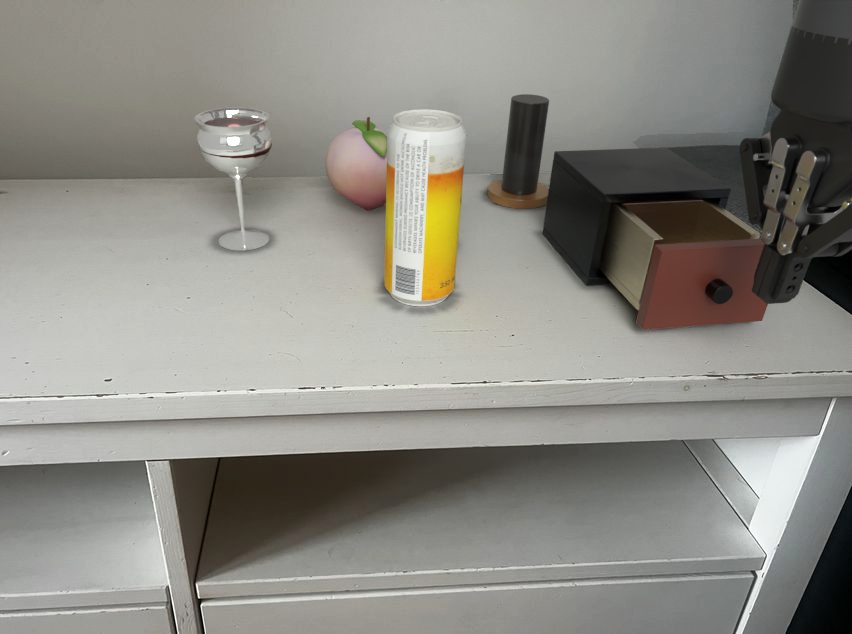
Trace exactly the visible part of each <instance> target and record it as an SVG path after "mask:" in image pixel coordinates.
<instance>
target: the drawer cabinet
mask: <svg viewBox="0 0 852 634" xmlns="http://www.w3.org/2000/svg"><path fill="white" fill-rule="evenodd" d="M548 189H549V192H548V198H547V204H545V205H546V206H545V213H544V220H543V227H542V235H543V236H544V237H545V239H546V240H547V241H548V242H549V243H550V244H551V245H552V247H553V248H554V250H556V251H557V253H558V254H559V255H560V256H561V257H562V258H563V260H564V261H565V262H566V263H567V265H568V266H569V267H570V268H571V269H572V270H573V271H574V272H575V274H576V275H577V277H578V278H579V279H581V281H582V282H583V283H584V284H585V286H587V287H589V286H591V287H592V286H605V285H614V284H613V283H612V282H611V281H610V280H609V279H608V278H607V277H606V276H605V275H604V274H603V273H602V271H601V270H600V269H599V268H598V267H599V262H600V257H601V252H602V247H603V242H604V237H605V232H606V227H607V222H608V217H609V212H610V207H611V203H619V202H640V201H662V200H683V199H705V198H709V199H711V200H712V201H714V202H715V203H716V204H718V205H719V206H721V207H722V208H724V209H725V210H727V209H726V208H727V206H728V202H729V198H730V195H731V191H732V189H731V187H729V186H727V185H725V184H724V183H723V182H721V181H720V180H718V179H716V178H714V177H713V176H712V175H710V174H708V173H707V172H705V171H703V170H702V169H701V168H699V167H698V166H696V165H694V164H692V163H691V162H689V161H688V160H686V159H685V158H683V157H682V156H680V155H678V154H677V153H675V152H673V151H672V150H670V149H669V148H667V147H640V148H639V147H638V148H637V147H636V148H617V149H616V148H613V149H612V148H611V149H585V150H584V149H582V150H580V149H579V150H556V151H554V153H553V159H552V165H551V172H550V179H549V186H548Z"/></svg>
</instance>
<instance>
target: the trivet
mask: <svg viewBox="0 0 852 634" xmlns="http://www.w3.org/2000/svg"><path fill="white" fill-rule="evenodd" d="M501 186H502V178H501V179H497V180H493V181H492V182H490V183H489V184H488V186H487V194H486V196H487V198H488V199H489V201H491V202H492V203H494V204H496V205H499V206H502V207H506V208H512V209H525V210H526V209H535V208H540V207H543V206H545V205H547V198H548V192H549V186H548V187H547V185H545V184H543V183H540V182H538V185H537V191H536V192H535V193H533V194H530V195H514V194H510V193H507V192H505V191H503V190H502V188H501Z"/></svg>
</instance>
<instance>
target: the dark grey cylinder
mask: <svg viewBox="0 0 852 634" xmlns="http://www.w3.org/2000/svg"><path fill="white" fill-rule="evenodd" d="M549 106H550V99H549V98H547V97H546V96H542V95H538V94H531V93H530V94H527V93H526V94H525V93H524V94H516V95H513V96H512V97H511V98H510V106H509V116H508V124H507V132H506V142H505V151H504V160H503V161H504V162H503V169H502V178H501V179H502V186H501V188H502V190H503V191H505V192H507V193H510V194H514V195H530V194H533V193H535V192H536V191H537V185H538V183H539V178H540V177H539V176H540V170H541V163H542V156H543V155H542V154H543V148H544V141H545V134H546V127H547V119H548V113H549Z"/></svg>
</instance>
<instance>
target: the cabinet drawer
mask: <svg viewBox="0 0 852 634" xmlns="http://www.w3.org/2000/svg"><path fill="white" fill-rule="evenodd" d="M760 237H761V232H759V231H758V230H756V229H754V228H753V227H752V226H750V225H749V224H747V223H746V222H744V221H743V220H741V219H740V218H739V217H738V216H736V215H734V214H733V213H731V212H730V211H728V210H727V209H724V208H722V207H721V206H719V205H718V204H716V203H715V202H714V201H712V200H711V199H709V198H705V199H683V200H662V201H640V202H619V203H611V207H610V212H609V217H608V222H607V227H606V232H605V237H604V242H603V247H602V252H601V257H600V262H599V267H598V268H599V269H600V270H601V271H602V273H603V274H604V275H605V276H606V277H607V278H608V279H609V280H610V281H611V282H612V283H613V284H612V285H613V286H614V287H615V288H616V289H617V290H618V291H619V293H621V294H622V296H623V297H624V298H625V299H626V300H627V301H628V302H629V304H631V305H632V307H634V308H635V310H636V311H638V312H637V315H636V320H635V323H636V324H637V326H638V327H639V328H640V329H641V330H642V331H647V330H659V329H672V328H673V329H674V328H685V327H699V326H712V325H724V324H726V325H727V324H738V323H751V322H763V320H764V316H765V314H766V311H767V309H768V305H769V304H766V303H765V302H764V301H763V300H761V299H760V298H759V297H757V296H756V295H755V294H754V293H753V292H752V287H753V284H754V274H755V271H756V268H757V265H758V263H759V259H760V256H761V253H762V250H763V247H764V244H765V243H764V242H763V241H762V238H760Z"/></svg>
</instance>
